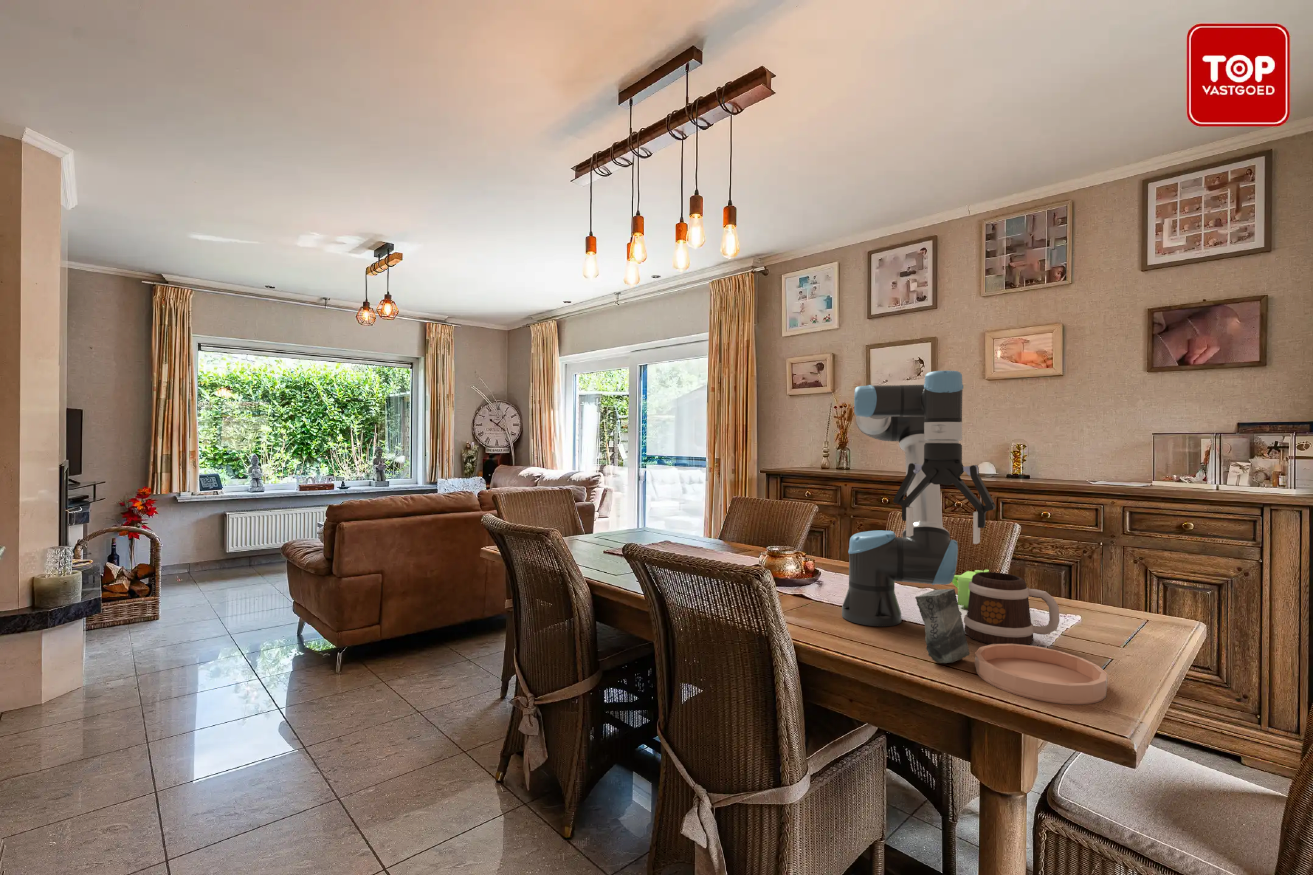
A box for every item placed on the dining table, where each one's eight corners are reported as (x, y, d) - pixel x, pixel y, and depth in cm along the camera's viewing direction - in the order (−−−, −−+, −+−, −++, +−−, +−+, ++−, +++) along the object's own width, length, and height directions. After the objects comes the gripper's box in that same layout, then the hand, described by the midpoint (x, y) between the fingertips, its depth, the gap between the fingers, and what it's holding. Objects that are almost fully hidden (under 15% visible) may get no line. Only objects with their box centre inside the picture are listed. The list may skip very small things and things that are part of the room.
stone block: (928, 664, 129) (952, 664, 125) (911, 596, 132) (934, 594, 128) (949, 655, 135) (972, 655, 131) (932, 589, 138) (954, 587, 134)
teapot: (970, 615, 165) (970, 576, 165) (940, 602, 178) (940, 566, 178) (1020, 613, 167) (1020, 575, 167) (987, 600, 181) (987, 565, 181)
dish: (964, 682, 120) (964, 664, 120) (988, 652, 136) (988, 636, 136) (1102, 715, 105) (1102, 695, 105) (1110, 677, 122) (1110, 660, 122)
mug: (958, 640, 145) (959, 577, 145) (968, 624, 157) (968, 566, 157) (1058, 658, 133) (1058, 590, 133) (1060, 639, 146) (1060, 577, 146)
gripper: (879, 441, 137) (878, 535, 137) (1004, 442, 121) (1003, 548, 121) (890, 441, 142) (889, 531, 142) (1011, 442, 127) (1010, 543, 127)
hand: (942, 539), depth 132 cm, fingers open, 13 cm apart
